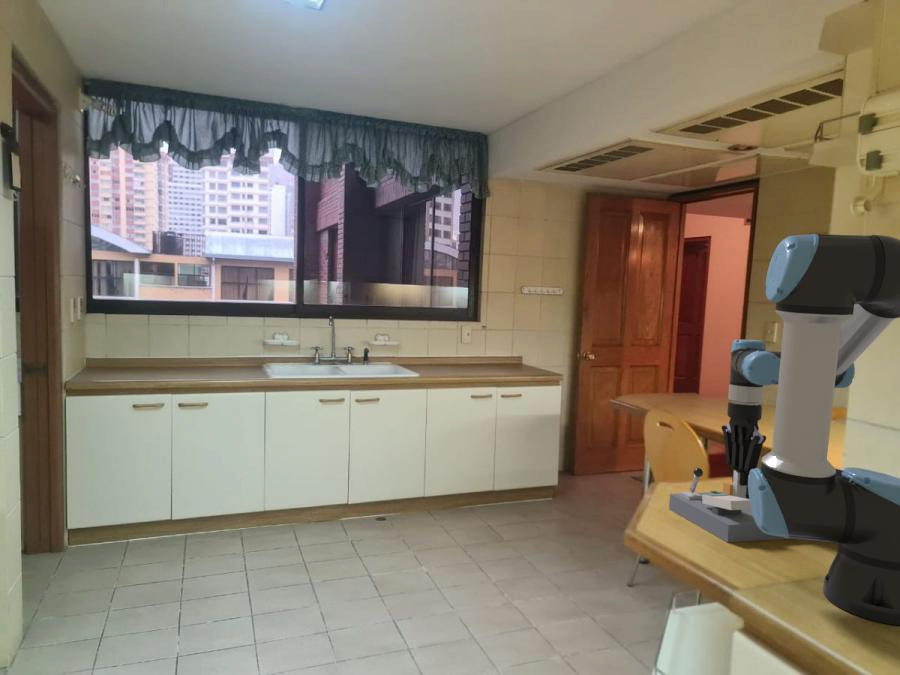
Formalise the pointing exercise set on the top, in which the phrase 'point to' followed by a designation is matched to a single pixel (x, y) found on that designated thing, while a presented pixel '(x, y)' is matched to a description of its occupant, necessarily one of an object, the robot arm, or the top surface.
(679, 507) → the panel
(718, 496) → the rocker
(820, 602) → the top surface
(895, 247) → the robot arm
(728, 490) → the slider
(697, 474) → the toggle
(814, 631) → the top surface
